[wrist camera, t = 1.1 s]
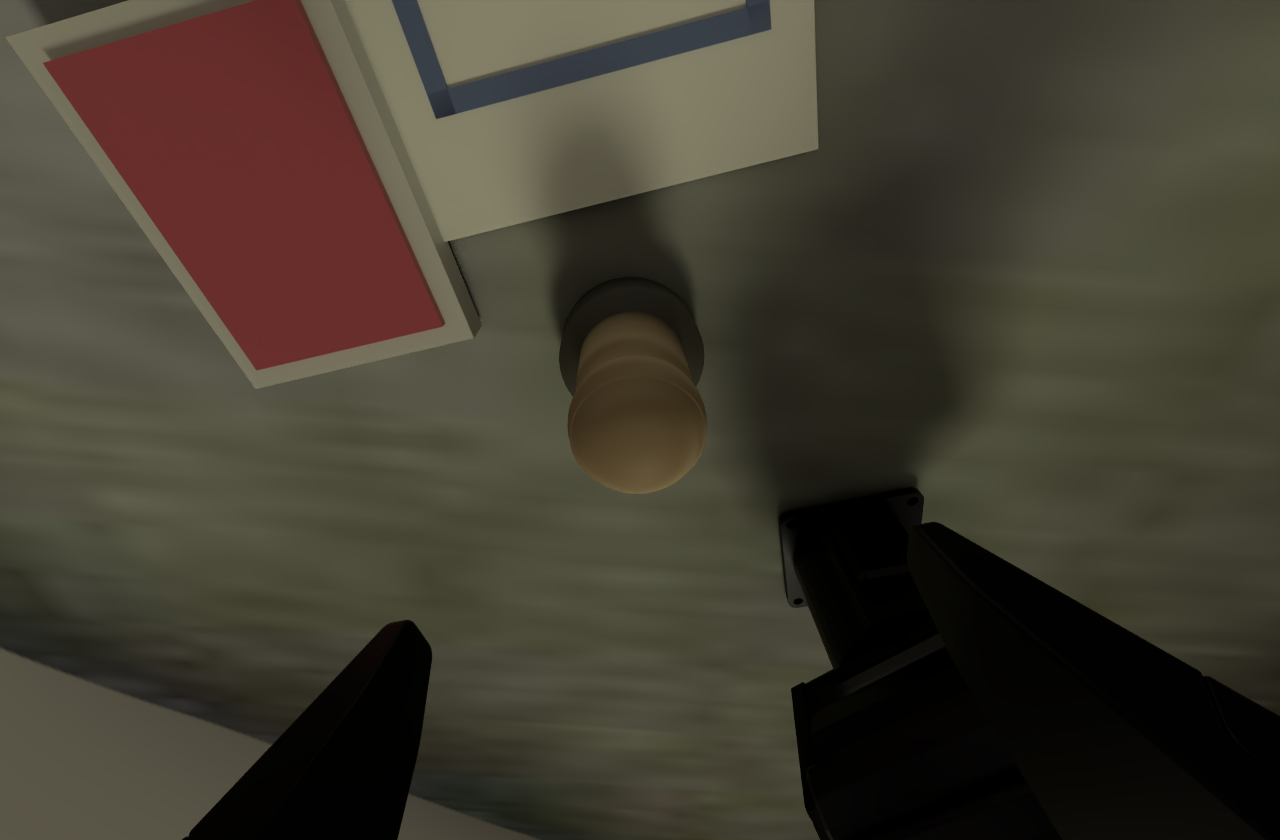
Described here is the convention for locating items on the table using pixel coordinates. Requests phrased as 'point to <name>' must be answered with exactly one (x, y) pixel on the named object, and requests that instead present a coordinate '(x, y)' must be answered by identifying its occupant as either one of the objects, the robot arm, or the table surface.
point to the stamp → (633, 385)
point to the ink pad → (261, 175)
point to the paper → (586, 97)
